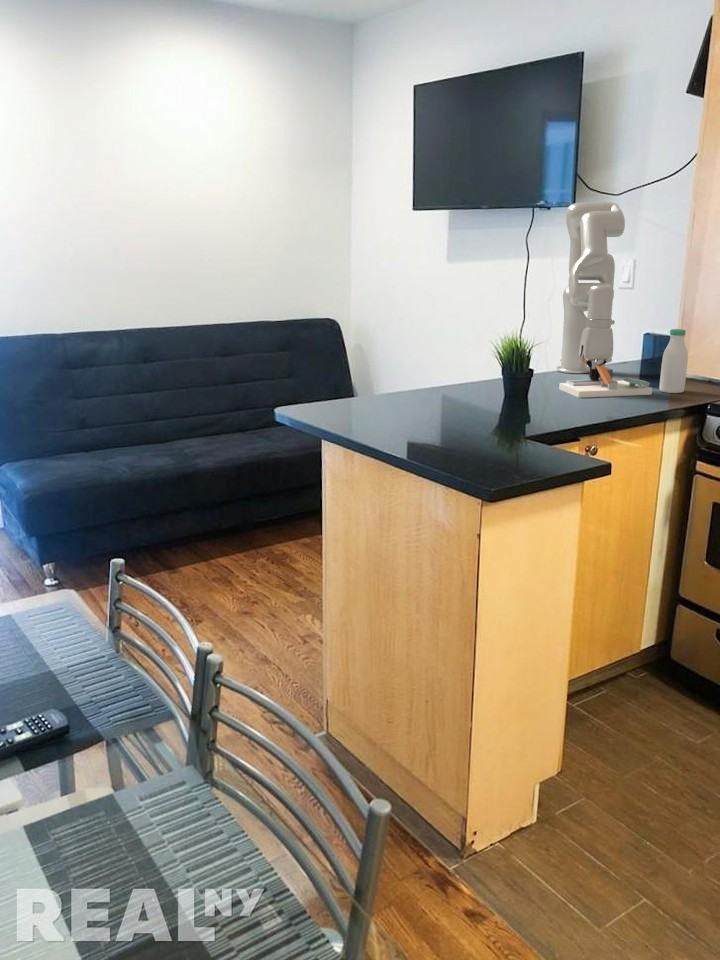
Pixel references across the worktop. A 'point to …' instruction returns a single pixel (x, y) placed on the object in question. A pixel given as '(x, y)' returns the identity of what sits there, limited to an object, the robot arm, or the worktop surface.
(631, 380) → the rocker
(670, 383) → the milk bottle
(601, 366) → the lever
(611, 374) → the slider
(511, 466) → the worktop surface
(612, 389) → the panel
